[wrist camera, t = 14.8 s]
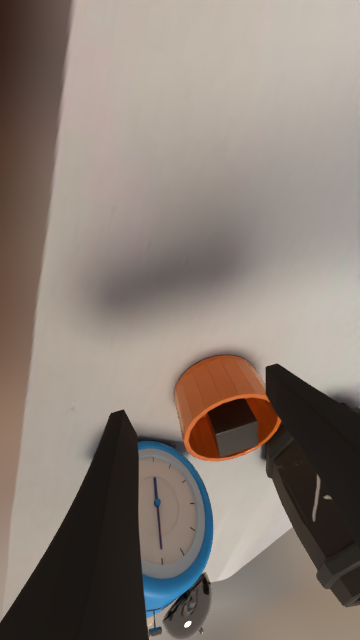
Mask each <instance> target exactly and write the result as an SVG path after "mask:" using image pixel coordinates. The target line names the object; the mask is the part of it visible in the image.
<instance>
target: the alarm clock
mask: <svg viewBox="0 0 360 640" xmlns="http://www.w3.org/2000/svg"><path fill="white" fill-rule="evenodd" d="M138 453H139V503H138V517H139V537H140V551H141V564H142V576H143V587H144V598H145V608H146V618H149V617H151V616H154V628H152V629H149V632H148V634H149V637H151V636H156V635H160V634H161V632H162V629H161V627H157V628H155V615H156V614H157V613H159V612H160V611H162V610H163V609H164V608H165V607H167V606H168V605H169V604H171V603H172V602H173V601H174V600H176V599H177V598H178V597H179V598H178V599H177V600H176V602H175V603H174V604H173V605H172V607H171V608H170V609H169V611H168V612H167V613H166V615H165V617H164V619H163V621H162V622H163V624H164V627H165V629H166V631H167V633H168V634H169V635H170V636H171V637H172V638H174V639H177V640H186V639H189V638H191V637H193V636H194V635H195V634H196V633H197V632H198V631H199V632H200V634H201V633H202V632H203V629H202V625H203V624H204V622H205V621H206V619H207V617H208V614H209V611H210V607H211V602H212V589H211V583H210V580H209V577H208V575H207V573H206V572H204V573H203V574H202V572H203V570H204V568H205V566H206V564H207V561H208V558H209V555H210V552H211V547H212V540H213V516H212V509H211V504H210V500H209V496H208V493H207V490H206V488H205V486H204V483H203V481H202V479H201V477H200V476H199V474H198V472H197V471H196V469H195V468H194V467H193V465H192V464H191V463H190V462H189V461H188V459H187V458H186V457H185V456H183V455H182V454H181V453H180V452H178V451H177V450H176V449H175V445H174V446H173V447H170V446H168V445H166V444H164V443H160V442H156V441H140V442H138Z"/></svg>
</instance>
